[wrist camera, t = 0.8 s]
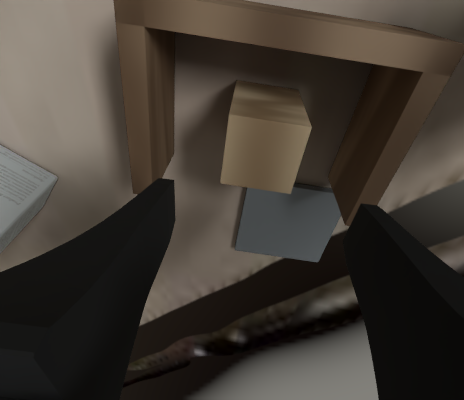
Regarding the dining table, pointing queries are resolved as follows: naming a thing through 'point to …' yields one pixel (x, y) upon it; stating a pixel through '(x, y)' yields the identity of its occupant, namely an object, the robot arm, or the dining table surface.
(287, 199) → the mat
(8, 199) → the skincare box
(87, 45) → the dining table surface
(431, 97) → the brown wooden arch
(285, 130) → the oak block
